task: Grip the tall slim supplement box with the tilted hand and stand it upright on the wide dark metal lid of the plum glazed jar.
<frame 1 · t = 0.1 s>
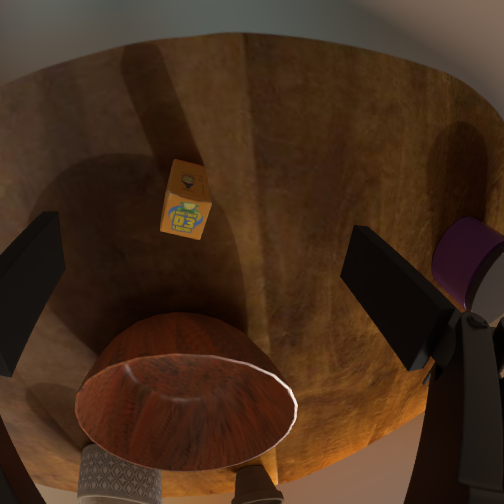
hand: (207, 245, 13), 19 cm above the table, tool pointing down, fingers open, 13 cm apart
supplement box: (185, 178, 31), on the table
bowl: (182, 357, 41), on the table
planter: (121, 455, 52), on the table
flower pot: (250, 469, 62), on the table
jar: (459, 252, 42), on the table
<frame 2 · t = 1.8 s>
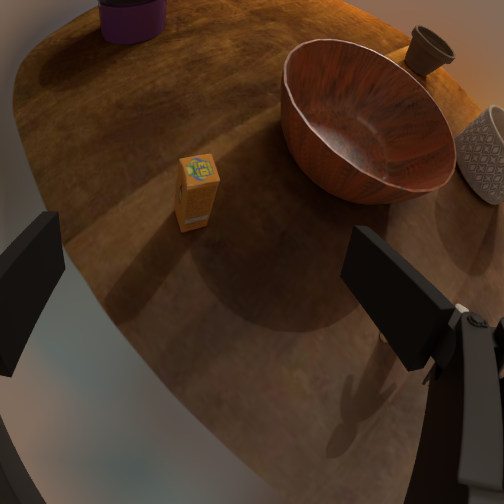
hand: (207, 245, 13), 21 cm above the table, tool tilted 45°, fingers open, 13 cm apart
supplement box: (191, 217, 36), on the table
bowl: (341, 152, 45), on the table
planter: (475, 171, 53), on the table
flower pot: (415, 67, 60), on the table
jar: (132, 27, 45), on the table
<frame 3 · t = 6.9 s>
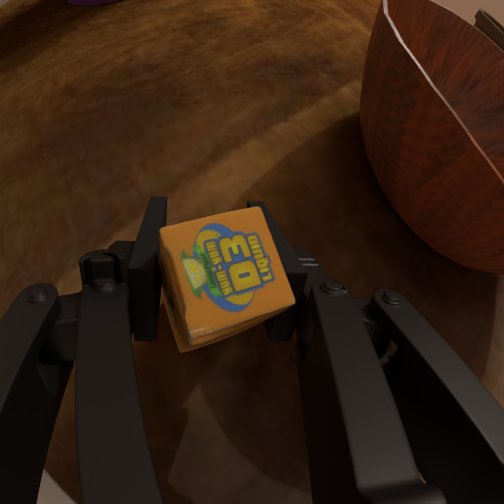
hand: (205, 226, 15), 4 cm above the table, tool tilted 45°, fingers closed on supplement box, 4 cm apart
supplement box: (200, 316, 18), on the table, touching gripper
bowl: (435, 175, 26), on the table
flower pot: (475, 60, 42), on the table
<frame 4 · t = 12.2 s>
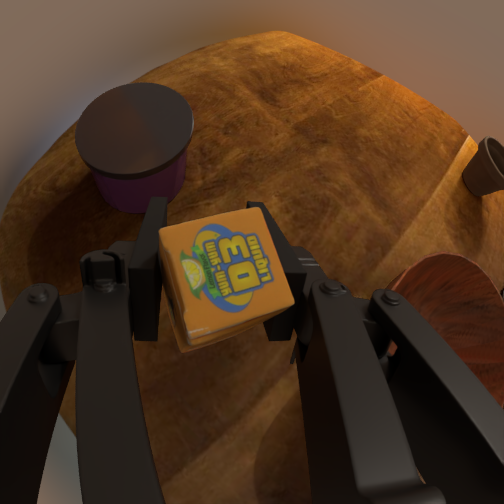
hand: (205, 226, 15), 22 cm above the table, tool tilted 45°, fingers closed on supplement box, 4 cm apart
supplement box: (201, 316, 18), point 19 cm above the table, touching gripper
bowl: (400, 363, 39), on the table
flower pot: (471, 182, 55), on the table
jar: (140, 172, 40), on the table
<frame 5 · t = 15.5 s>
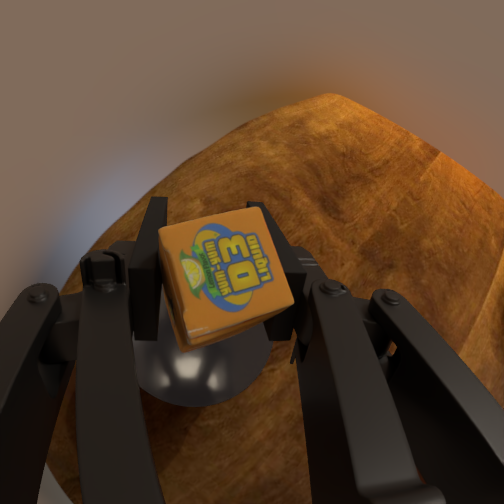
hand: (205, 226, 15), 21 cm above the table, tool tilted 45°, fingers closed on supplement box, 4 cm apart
supplement box: (201, 316, 18), point 17 cm above the table, touching gripper
jar: (189, 332, 34), on the table
when the fingers open (14 cm above the table, at t = 17.7 s): supplement box stays where it is, resting on jar.
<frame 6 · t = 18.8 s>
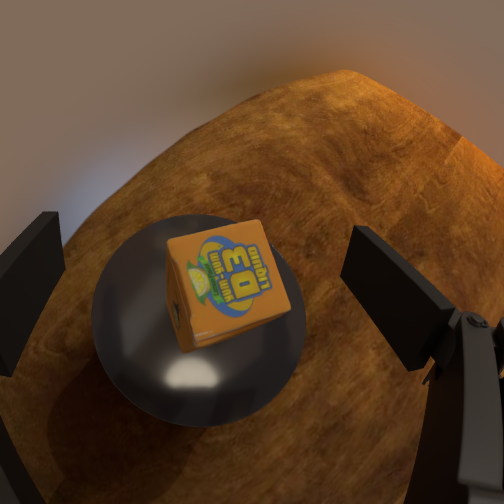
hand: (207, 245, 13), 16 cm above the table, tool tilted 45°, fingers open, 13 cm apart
supplement box: (201, 318, 18), point 10 cm above the table, touching jar
jar: (193, 330, 28), on the table
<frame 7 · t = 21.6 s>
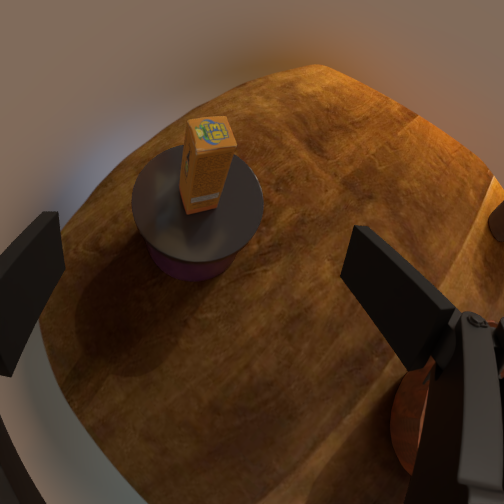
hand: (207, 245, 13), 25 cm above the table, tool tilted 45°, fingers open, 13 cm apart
supplement box: (199, 198, 31), point 10 cm above the table, touching jar
bowl: (429, 409, 40), on the table
flower pot: (495, 227, 55), on the table
jar: (193, 234, 40), on the table
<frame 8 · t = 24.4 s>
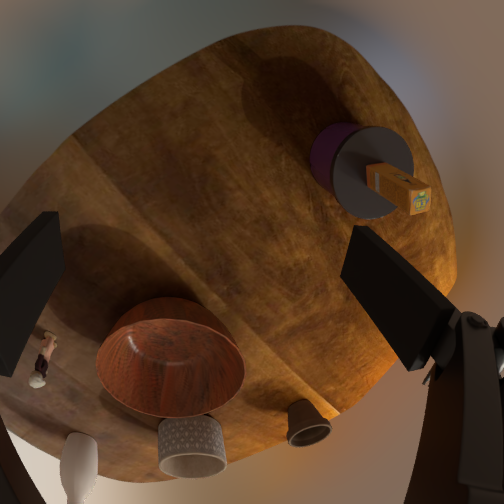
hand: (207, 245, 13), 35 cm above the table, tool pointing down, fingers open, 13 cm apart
supplement box: (375, 174, 40), point 10 cm above the table, touching jar
grandmother figurine: (50, 340, 55), on the table
bottle: (82, 438, 73), on the table
bowl: (171, 331, 59), on the table
planter: (189, 425, 74), on the table
flower pot: (299, 406, 78), on the table
jar: (344, 158, 49), on the table
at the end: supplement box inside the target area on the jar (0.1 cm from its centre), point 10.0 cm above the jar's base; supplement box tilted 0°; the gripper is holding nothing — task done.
